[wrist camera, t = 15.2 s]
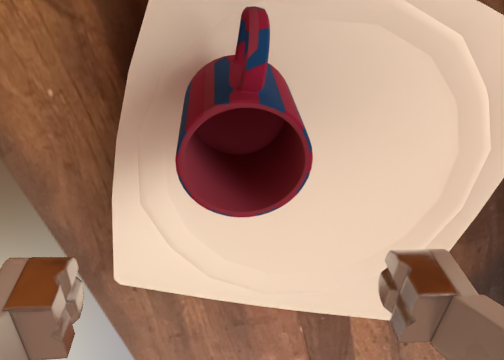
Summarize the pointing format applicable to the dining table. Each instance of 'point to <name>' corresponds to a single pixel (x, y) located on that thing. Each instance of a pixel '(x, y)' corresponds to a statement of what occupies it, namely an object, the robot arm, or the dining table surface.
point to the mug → (242, 130)
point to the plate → (316, 148)
